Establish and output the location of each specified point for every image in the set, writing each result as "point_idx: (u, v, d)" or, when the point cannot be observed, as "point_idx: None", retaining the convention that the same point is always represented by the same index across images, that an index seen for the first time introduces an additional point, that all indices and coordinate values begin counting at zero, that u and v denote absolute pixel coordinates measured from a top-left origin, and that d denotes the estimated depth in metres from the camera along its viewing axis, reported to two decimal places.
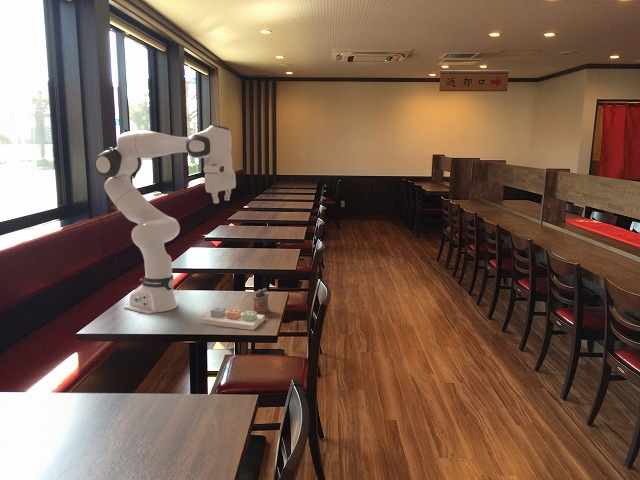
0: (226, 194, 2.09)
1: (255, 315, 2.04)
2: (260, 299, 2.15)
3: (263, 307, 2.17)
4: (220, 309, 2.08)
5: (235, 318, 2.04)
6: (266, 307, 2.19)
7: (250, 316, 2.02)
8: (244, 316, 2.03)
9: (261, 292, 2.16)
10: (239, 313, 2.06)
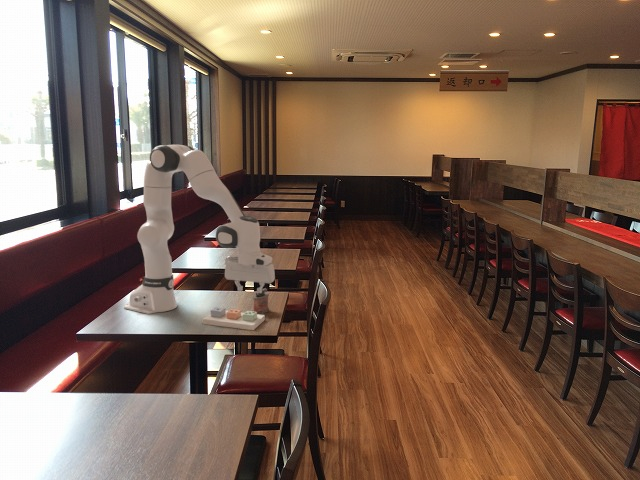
0: (238, 285, 2.03)
1: (255, 315, 2.04)
2: (260, 299, 2.15)
3: (263, 307, 2.17)
4: (220, 309, 2.08)
5: (235, 318, 2.04)
6: (266, 307, 2.19)
7: (250, 316, 2.02)
8: (244, 316, 2.03)
9: None
10: (239, 313, 2.06)
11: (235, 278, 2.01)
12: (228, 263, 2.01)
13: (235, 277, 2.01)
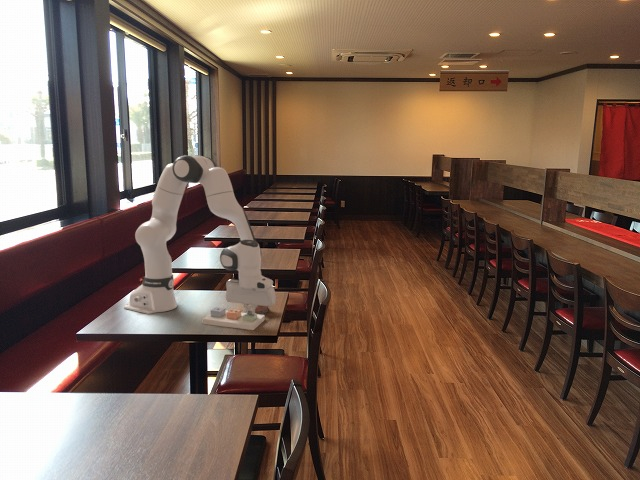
0: (247, 308, 2.04)
1: (255, 317, 2.04)
2: None
3: (263, 307, 2.17)
4: (220, 309, 2.08)
5: (235, 318, 2.04)
6: (266, 307, 2.19)
7: (250, 317, 2.02)
8: (244, 318, 2.03)
9: None
10: (239, 313, 2.06)
11: (236, 301, 2.03)
12: (229, 286, 2.03)
13: (236, 300, 2.03)
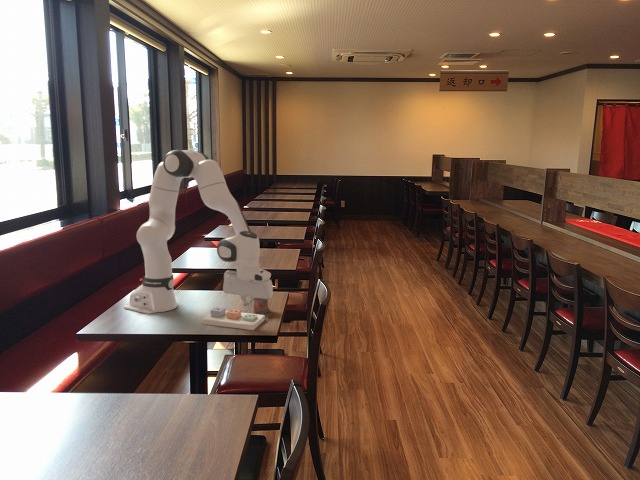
0: (244, 300, 2.03)
1: (255, 318, 2.05)
2: (260, 299, 2.15)
3: (263, 307, 2.17)
4: (220, 309, 2.08)
5: (235, 318, 2.04)
6: (266, 307, 2.19)
7: (250, 319, 2.02)
8: (244, 319, 2.03)
9: None
10: (239, 313, 2.06)
11: (233, 292, 2.02)
12: (227, 277, 2.02)
13: (233, 291, 2.02)
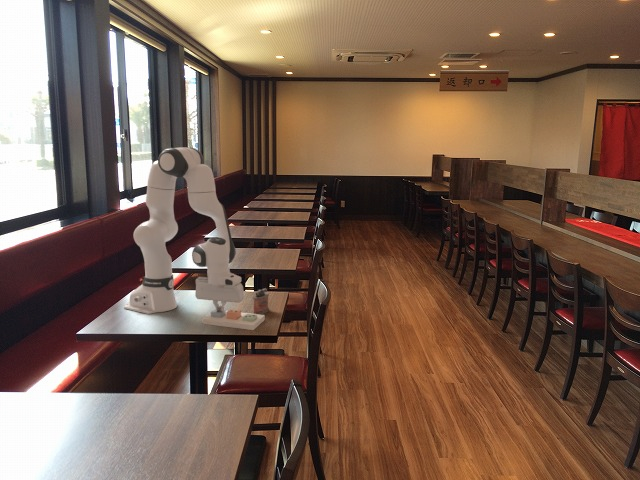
0: (217, 305, 2.08)
1: (255, 318, 2.05)
2: (260, 299, 2.15)
3: (263, 307, 2.17)
4: (220, 311, 2.08)
5: (235, 318, 2.04)
6: (266, 307, 2.19)
7: (250, 319, 2.02)
8: (244, 319, 2.03)
9: (261, 292, 2.16)
10: (239, 313, 2.06)
11: (205, 298, 2.07)
12: (198, 283, 2.07)
13: (205, 297, 2.07)
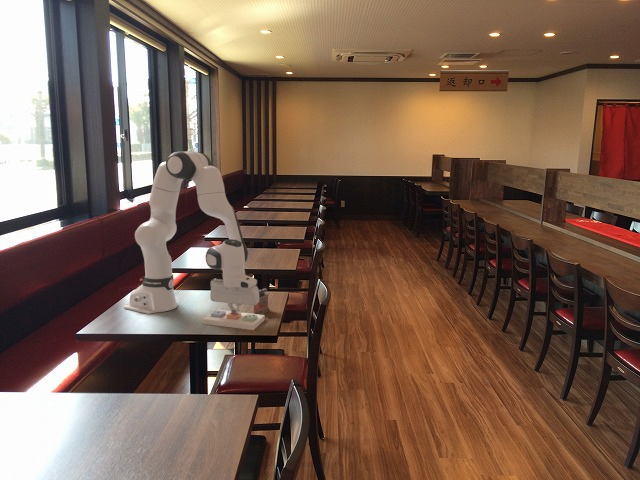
0: (232, 307, 2.06)
1: (255, 318, 2.05)
2: (260, 299, 2.15)
3: (263, 307, 2.17)
4: (220, 312, 2.08)
5: None
6: (266, 307, 2.19)
7: (250, 319, 2.02)
8: (244, 319, 2.03)
9: (261, 292, 2.16)
10: (239, 316, 2.06)
11: (220, 300, 2.05)
12: (213, 285, 2.05)
13: (220, 299, 2.05)
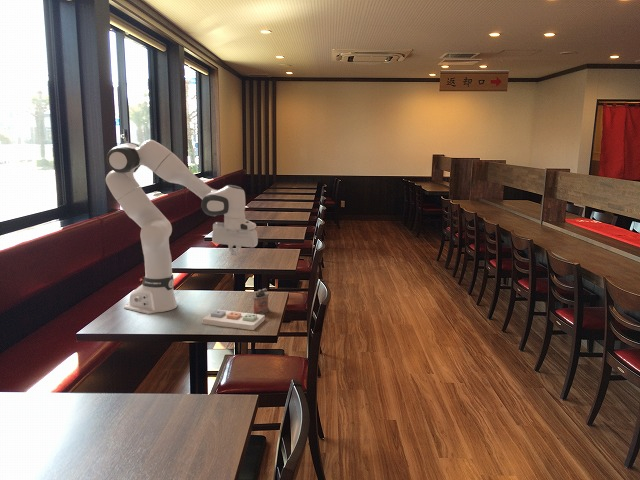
0: (231, 249, 2.19)
1: (255, 318, 2.05)
2: (260, 299, 2.15)
3: (263, 307, 2.17)
4: (220, 312, 2.08)
5: None
6: (266, 307, 2.19)
7: (250, 319, 2.02)
8: (244, 319, 2.03)
9: (261, 292, 2.16)
10: (239, 316, 2.06)
11: (221, 242, 2.18)
12: (215, 228, 2.18)
13: (221, 241, 2.18)
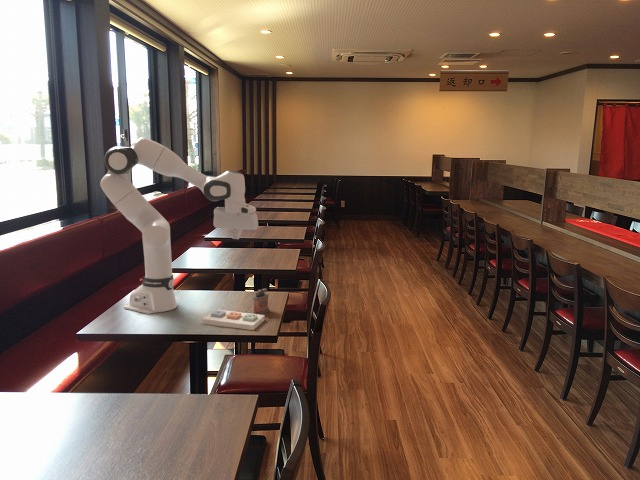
0: (233, 233, 2.26)
1: (255, 318, 2.05)
2: (260, 299, 2.15)
3: (263, 307, 2.17)
4: (220, 312, 2.08)
5: None
6: (266, 307, 2.19)
7: (250, 319, 2.02)
8: (244, 319, 2.03)
9: (261, 292, 2.16)
10: (239, 316, 2.06)
11: (223, 226, 2.25)
12: (216, 212, 2.25)
13: (223, 225, 2.25)
